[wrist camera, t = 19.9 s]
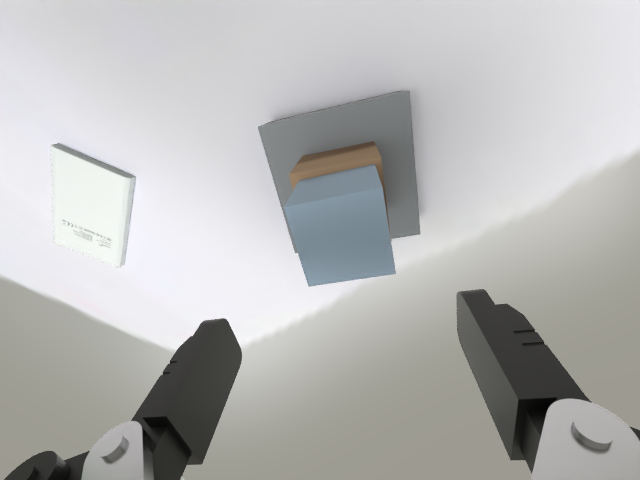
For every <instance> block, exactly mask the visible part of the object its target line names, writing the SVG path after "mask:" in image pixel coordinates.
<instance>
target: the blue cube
mask: <svg viewBox="0 0 640 480" xmlns="http://www.w3.org/2000/svg"><path fill="white" fill-rule="evenodd" d="M284 210H285V213H286V217H287V220H288V223H289V226H290V229H291V232H292V236H293V239H294V242H295V245H296V248H297V251H298V254H299V258H300V261H301V264H302V267H303V270H304V273H305V277H306V280H307V283H308V286H315V285H322V284H329V283H336V282H343V281H349V280H356V279H363V278H370V277H377V276H384V275H390V274H396V272H395V265H394V259H393V252H392V246H391V239H390V233H389V226H388V220H387V213H386V207H385V200H384V194H383V187H382V184H381V181H380V178H379V175H378V172H377V169H376V166H375V164H371V165H367V166H362V167H358V168H353V169H348V170H344V171H339V172H335V173H330V174H326V175H321V176H317V177H312V178H308V179H303V180H299V181H298V183H297V185H296V187H295V188H294V190H293V192H292V194H291V195H290V197H289V199H288V201H287V203H286V204H285V206H284Z"/></svg>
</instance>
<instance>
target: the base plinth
mask: <svg viewBox="0 0 640 480" xmlns="http://www.w3.org/2000/svg"><path fill="white" fill-rule="evenodd" d="M258 129H259V132H260V136H261V139H262V143H263V146H264V149H265V153H266V156H267V159H268V163H269V166H270V170H271V173H272V176H273V180H274V183H275V186H276V190H277V193H278V197H279V200H280V203H281V207H282V210H283V213H284V217H285V220H286V224H287V227H288V230H289V234H290V237H291V240H292V244H293V247H294V251H295V253H298V251H297V248H296V245H295V242H294V239H293V236H292V232H291V229H290V226H289V223H288V220H287V217H286V213H285V210H284V206H285V204H286V203H287V201H288V199H289V197H290V195H291V194H292V192H293V189H292V185H291V181H290V177H289V174H290V172H291V171H292V169H293V168H294V167H295V165H296V164H297V162H298V161H299V160H300V158H301V157H302V156H305V155H310V154H314V153H319V152H324V151H329V150H334V149H338V148H343V147H348V146H353V145H358V144H363V143H367V142H372V141H374V142H375V145H376V147H377V149H378V151H379V153H380V155H381V161H382V169H383V177H384V186H385V194H386V202H387V210H388V218H389V227H390V235H391V239H392V238H399V237H406V236H412V235H419V234H420V224H419V211H418V198H417V185H416V172H415V159H414V146H413V133H412V120H411V107H410V94H409V91H397V92H393V93H389V94H385V95H381V96H377V97H372V98H368V99H364V100H360V101H356V102H352V103H347V104H343V105H339V106H335V107H331V108H326V109H322V110H318V111H314V112H310V113H306V114H301V115H297V116H293V117H289V118H285V119H280V120H276V121H272V122H269V123H266V124H264V125H261V126H259V127H258Z"/></svg>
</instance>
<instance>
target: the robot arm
mask: <svg viewBox="0 0 640 480" xmlns="http://www.w3.org/2000/svg"><path fill="white" fill-rule="evenodd" d="M457 331H458V336H459V340H460V344H461V347H462V349H463V351H464V354H465V356H466V358H467V360H468V363H469V365H470V368H471V370H472V372H473V374H474V377H475V379H476V381H477V383H478V386H479V388H480V391H481V392H482V395H483V398H484V400H485V402H486V404H487V407H488V409H489V411H490V414H491V416H492V418H493V420H494V423H495V425H496V427H497V430H498V432H499V434H500V437H501V439H502V441H503V443H504V446H505V448H506V450H507V453H508V455H509V457H510V459H511V460H526V462H527V464H528V467H529V469H530V471H531V473H532V476H531V480H640V430H637V429H635V428H632V427H629V426H628V425H627V424H626V423H625V422H623V421H622V420H621V419H620V418H619V417H617V416H616V415H614V414H613V413H611V412H610V411H608V410H606V409H605V408H603V407H601V406H598V405H596V404H593V403H592V402H591V401H590V400H589V399H588V398H587V397H586V396H585V395H584V393H583V392H582V391H581V390H580V388H579V387H578V385H577V384H576V383H575V381H574V380H573V379H572V378H571V376H570V375H569V374H568V372H567V371H566V370H565V368H564V367H563V366H562V365H561V363H560V362H559V361H558V359H557V358H556V357H555V355H554V354H553V353H552V352H551V350H550V349H549V348H548V346H547V345H545V344H544V341H543V340H542V338H541V337H540V336H539V334H538V333H537V332H535V329H534V328H533V327H532V325H531V324H530V323H529V321H528V320H527V319H526V318H525V316H524V315H523V314H521V313H520V312H518V311H517V310H515V309H514V308H512V307H511V306H509V305H508V304H499V305H495V304H494V302H493V301H492V299H491V298H490V296H489V295H488V293H487V292H486V291H485V290H484V289H479V290H470V291H461V292H458V293H457ZM241 360H242V353H241V348H240V346H239V344H238V342H237V339H236V337H235V335H234V333H233V331H232V329H231V327H230V325H229V323H228V321H227V320H226V319H214V320H206V321H203V322H202V323H201V324H200V326H199V327H198V329H197V331H196V332H195V334H194V335H193V336H191V337H190V338H189V339H188V340H187V341H185V342H184V343H183V344H182V345H181V346H180V347H179V348H178V350H177V351H176V353H175V354H174V356H173V357H172V359H171V360H170V364H168V365H167V367H166V368H165V370H164V371H163V375H161V376H160V377H159V379H158V380H157V382H156V384H155V385H154V386H153V388H152V389H151V391H150V393H149V394H148V396H147V397H146V399H145V400H144V402H143V403H142V405H141V406H140V408H139V409H138V411H137V413H136V414H135V416H134V417H133V419H132V420H131V421H128V422H124V423H122V424H120V425H117V426H116V427H114V428H112V429H111V430H110V431H108V432H107V433H106V434H105V435H104V436H102V437H101V438H100V439H99V440H98V441H97V443H96V444H95V445H94V446H93V448H92V449H91V450H90V451H88V452H86V453H83V454H80V455H77V456H75V457H72V458H70V459H67V460H62V459H61V458H60V457H59V456H58V455H57V454H56V453H55V452H53V451H45V452H42V453H39V454H37V455H35V456H33V457H31V458H30V459H28V460H26V461H25V462H23V463H22V464H21V465H20V466H18V467H17V468H16V469H15V470H14V471H12V472H11V473H10V474H9V475H8V476H7V477H6V478H5V479H4V480H185V479H184V477H183V476H182V475H183V472H184V470H185V467H186V465H193V464H194V465H195V464H202V463H203V460H204V458H205V455H206V453H207V450H208V447H209V445H210V442H211V439H212V437H213V435H214V432H215V429H216V427H217V424H218V422H219V419H220V417H221V414H222V411H223V409H224V406H225V404H226V401H227V399H228V396H229V393H230V390H231V388H232V386H233V383H234V381H235V378H236V375H237V373H238V370H239V368H240V364H241Z"/></svg>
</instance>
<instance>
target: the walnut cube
mask: <svg viewBox="0 0 640 480" xmlns="http://www.w3.org/2000/svg"><path fill="white" fill-rule="evenodd" d="M371 164H375V166H376V169H377V172H378V175H379V178H380V181H381V184H382V187H383V194H384V200H385V207H386V213H387V220H388V226H389V218H388V210H387V202H386V194H385V186H384V177H383V169H382V161H381V155H380V153H379V151H378V149H377V147H376V145H375V142H374V141H372V142H367V143H363V144H358V145H353V146H348V147H343V148H338V149H334V150H329V151H324V152H319V153H314V154H310V155H305V156H302V157H301V158H300V160H299V161H298V162H297V164H296V165H295V167H294V168H293V169H292V171H291V172H290V174H289V177H290V181H291V185H292V189H293V190H294V188H295V187H296V185H297V183H298V181H299V180H303V179H308V178H312V177H317V176H321V175H326V174H330V173H335V172H339V171H344V170H348V169H353V168H358V167H362V166H367V165H371ZM389 233H390V227H389ZM390 239H391V235H390Z"/></svg>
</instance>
